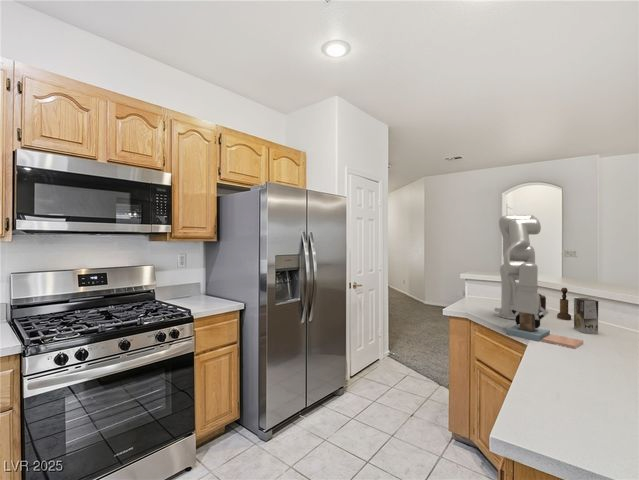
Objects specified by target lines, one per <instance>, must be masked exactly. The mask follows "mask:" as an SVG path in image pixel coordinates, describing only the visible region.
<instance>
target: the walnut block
mask: <svg viewBox="0 0 639 480" xmlns="http://www.w3.org/2000/svg"><path fill="white" fill-rule="evenodd" d="M535 320H536V317H535V316H534V314H528V313H522V312H520V324H519V325H520V330H523V331H528V332H535Z"/></svg>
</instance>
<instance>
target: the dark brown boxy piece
mask: <svg viewBox="0 0 639 480" xmlns="http://www.w3.org/2000/svg"><path fill="white" fill-rule="evenodd" d="M538 286H539V285H538V284H537V291H538V289H539V288H538ZM539 296H540V302H541V307H542V308H543V309H545V310H546V311H547V309H546V307H547V301H546V300H547V297H546V295H543V294H541V293H539ZM540 313H543V312H542V311H541V312H540Z"/></svg>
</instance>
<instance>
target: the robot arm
mask: <svg viewBox="0 0 639 480" xmlns="http://www.w3.org/2000/svg"><path fill="white" fill-rule="evenodd" d="M498 225H499V226H498V228H499V231H500V233H501V235H502V258H503V259H502V260H503V264H502V265H501V266H500V267H499V274H500V279H501V280H500V281H501V282H500V283H501V294H500V295H501V302H500V304H501V307H500V308H499V307H494V312H498V317H499V318H502V319H506V320H515V325H518V324H519V325H520V312H522V313H528V314H534V316H535V317H536V320H535V328H540V327H541V320H542V319H544V317H546V316H547V315H548V314H549V312H548V311H547V309H546V310H545V309H543V308H542V307H541V302H540V296H539V294H540V292H538V290H537V288H538V286H537V285H538V275H539V274H538V272H539V271H538V269H539V268H538V265H537V264H536V253H535V251H536V250H535V249H534V247H533V246H532V245H531V242H530V235H538V234H540V233H541V229H542V226H541V222H540V220H539V219H538V218H537V217H536V216H534V214H508V215H502V216H500V217H499V220H498ZM517 281H518V283H517ZM541 311H542V312H541ZM540 313H541V314H540Z"/></svg>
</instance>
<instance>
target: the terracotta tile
mask: <svg viewBox="0 0 639 480" xmlns="http://www.w3.org/2000/svg"><path fill="white" fill-rule="evenodd" d="M541 341H543V343H547V342H549V343H548V344H551V343H553V344H552V345H556V344H558V345H557V346H560V345H561V347H565V346H566V348H569V347H571V349H574V348H575V349H577V348H579V347H580V346H582V345H583V344H584V340H583V339H578V338H572V337H568V336H562V335H558V334H553V333H550V335H549V336H547V337H545V338H543V339H542V340H541ZM578 346H579V347H578ZM576 347H577V348H576Z"/></svg>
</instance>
